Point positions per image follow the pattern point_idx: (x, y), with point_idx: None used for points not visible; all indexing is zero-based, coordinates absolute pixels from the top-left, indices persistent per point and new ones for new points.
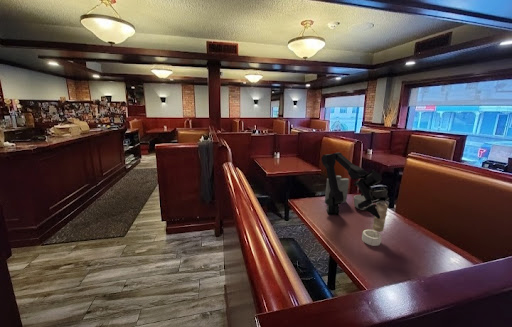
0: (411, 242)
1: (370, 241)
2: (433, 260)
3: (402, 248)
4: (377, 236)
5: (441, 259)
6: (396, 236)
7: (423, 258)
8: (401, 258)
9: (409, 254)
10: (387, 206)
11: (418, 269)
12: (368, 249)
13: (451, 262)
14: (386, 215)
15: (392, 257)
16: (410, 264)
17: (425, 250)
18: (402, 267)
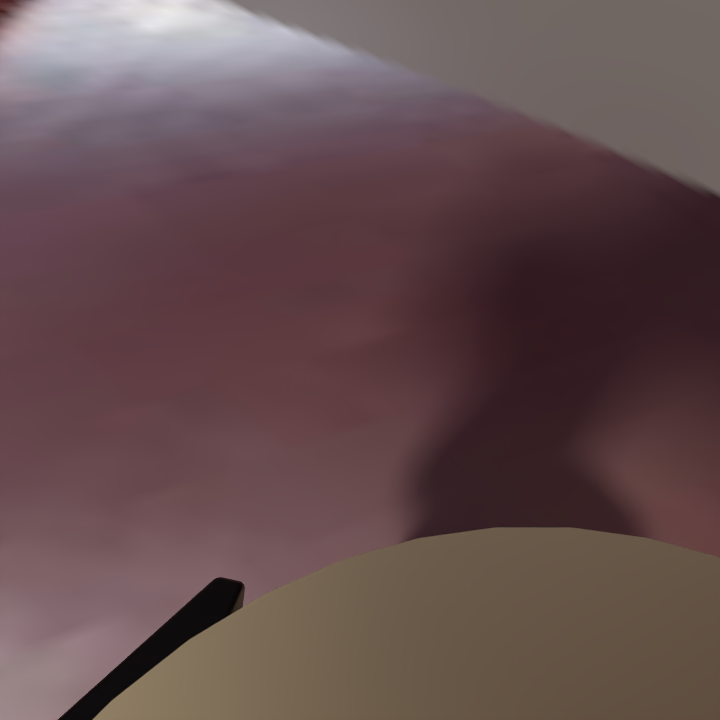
0: (103, 298)
1: None
2: (305, 104)
3: (319, 328)
4: None
5: (233, 68)
6: (74, 460)
7: (342, 159)
8: (517, 284)
9: (379, 253)
10: (515, 528)
11: (550, 154)
12: None
13: (220, 18)
14: (229, 580)
15: (579, 346)
16: (538, 209)
17: (174, 173)
18: (646, 242)
